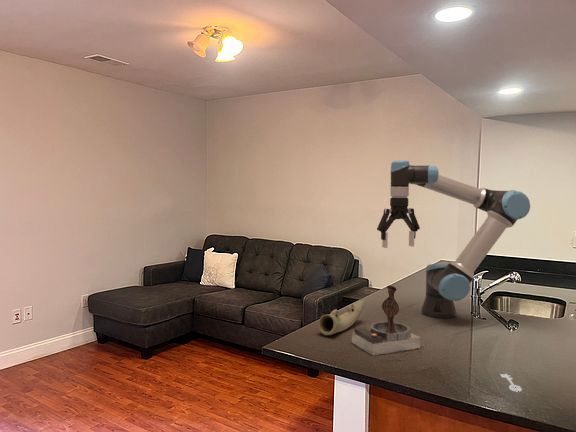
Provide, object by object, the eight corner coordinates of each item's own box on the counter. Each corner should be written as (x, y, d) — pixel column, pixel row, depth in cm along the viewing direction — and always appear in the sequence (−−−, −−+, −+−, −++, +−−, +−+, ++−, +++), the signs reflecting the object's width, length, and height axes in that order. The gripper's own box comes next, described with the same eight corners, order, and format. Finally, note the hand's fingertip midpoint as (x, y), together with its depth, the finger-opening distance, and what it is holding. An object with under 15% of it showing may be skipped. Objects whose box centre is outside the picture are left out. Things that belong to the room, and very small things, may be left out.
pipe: (334, 339, 167) (335, 314, 166) (316, 335, 172) (316, 310, 171) (366, 321, 190) (367, 299, 189) (349, 318, 195) (349, 296, 194)
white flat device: (396, 335, 172) (396, 319, 171) (420, 348, 158) (420, 330, 158) (351, 342, 164) (351, 325, 164) (372, 355, 151) (373, 337, 150)
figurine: (377, 332, 164) (378, 284, 163) (386, 329, 167) (387, 282, 166) (393, 337, 158) (394, 288, 157) (402, 334, 161) (403, 286, 160)
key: (510, 392, 125) (523, 393, 124) (510, 389, 125) (523, 390, 124) (499, 375, 137) (511, 376, 136) (500, 372, 136) (511, 373, 136)
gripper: (417, 197, 194) (416, 244, 196) (369, 197, 185) (368, 247, 186) (429, 197, 187) (427, 246, 189) (379, 197, 178) (378, 249, 179)
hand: (398, 247), depth 188 cm, fingers open, 13 cm apart
